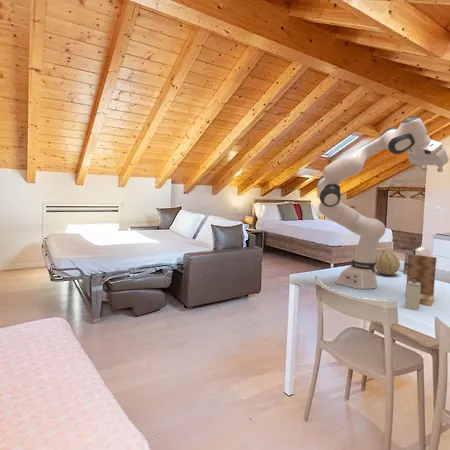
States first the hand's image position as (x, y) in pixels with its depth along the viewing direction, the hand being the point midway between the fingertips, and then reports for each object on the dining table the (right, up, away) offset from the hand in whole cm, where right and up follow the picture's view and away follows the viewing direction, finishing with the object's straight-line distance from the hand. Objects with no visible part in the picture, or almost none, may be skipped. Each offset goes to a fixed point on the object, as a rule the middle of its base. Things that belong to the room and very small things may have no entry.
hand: (432, 170), depth 169 cm
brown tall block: (-4, -64, +4) cm, 65 cm away
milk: (+14, -61, +35) cm, 72 cm away
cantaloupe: (+1, -59, +50) cm, 77 cm away
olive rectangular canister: (-15, -66, -8) cm, 68 cm away
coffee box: (+18, -59, +53) cm, 81 cm away
